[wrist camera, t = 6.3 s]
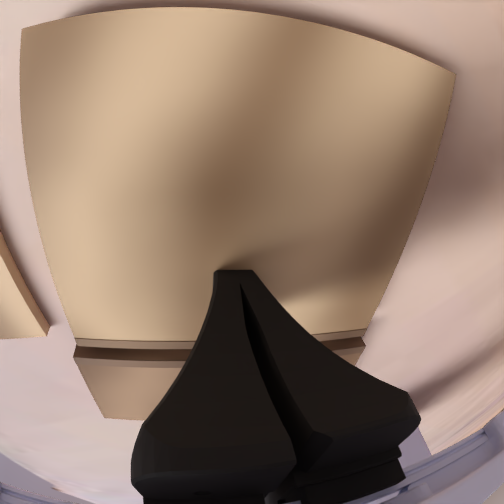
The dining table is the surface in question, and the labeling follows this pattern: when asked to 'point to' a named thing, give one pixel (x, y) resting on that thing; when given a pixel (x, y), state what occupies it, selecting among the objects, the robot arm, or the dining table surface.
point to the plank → (17, 302)
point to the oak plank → (222, 165)
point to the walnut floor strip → (152, 374)
